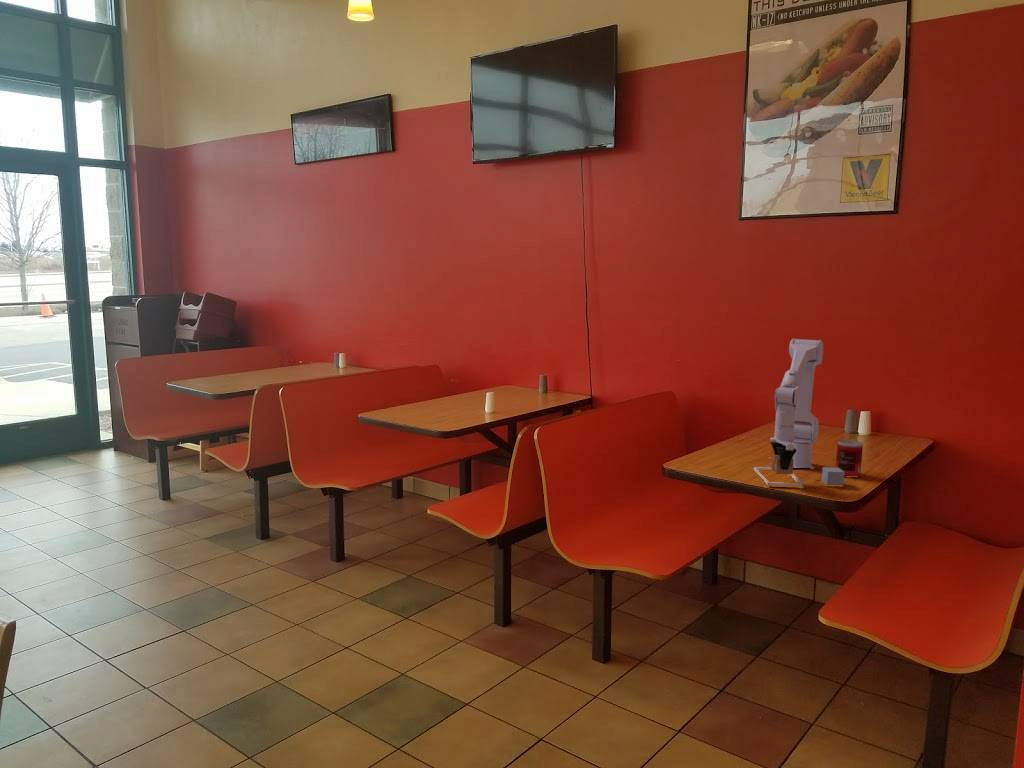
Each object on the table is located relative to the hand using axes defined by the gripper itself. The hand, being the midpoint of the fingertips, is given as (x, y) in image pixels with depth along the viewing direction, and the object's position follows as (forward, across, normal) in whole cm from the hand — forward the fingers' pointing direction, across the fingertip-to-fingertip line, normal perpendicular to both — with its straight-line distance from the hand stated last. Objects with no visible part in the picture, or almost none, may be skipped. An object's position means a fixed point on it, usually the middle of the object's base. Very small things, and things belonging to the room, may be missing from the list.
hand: (781, 467), depth 246 cm
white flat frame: (+5, -4, 0) cm, 7 cm away
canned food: (+6, -12, +25) cm, 28 cm away
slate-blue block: (+6, 0, +16) cm, 17 cm away
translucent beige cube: (+2, 0, 0) cm, 2 cm away
